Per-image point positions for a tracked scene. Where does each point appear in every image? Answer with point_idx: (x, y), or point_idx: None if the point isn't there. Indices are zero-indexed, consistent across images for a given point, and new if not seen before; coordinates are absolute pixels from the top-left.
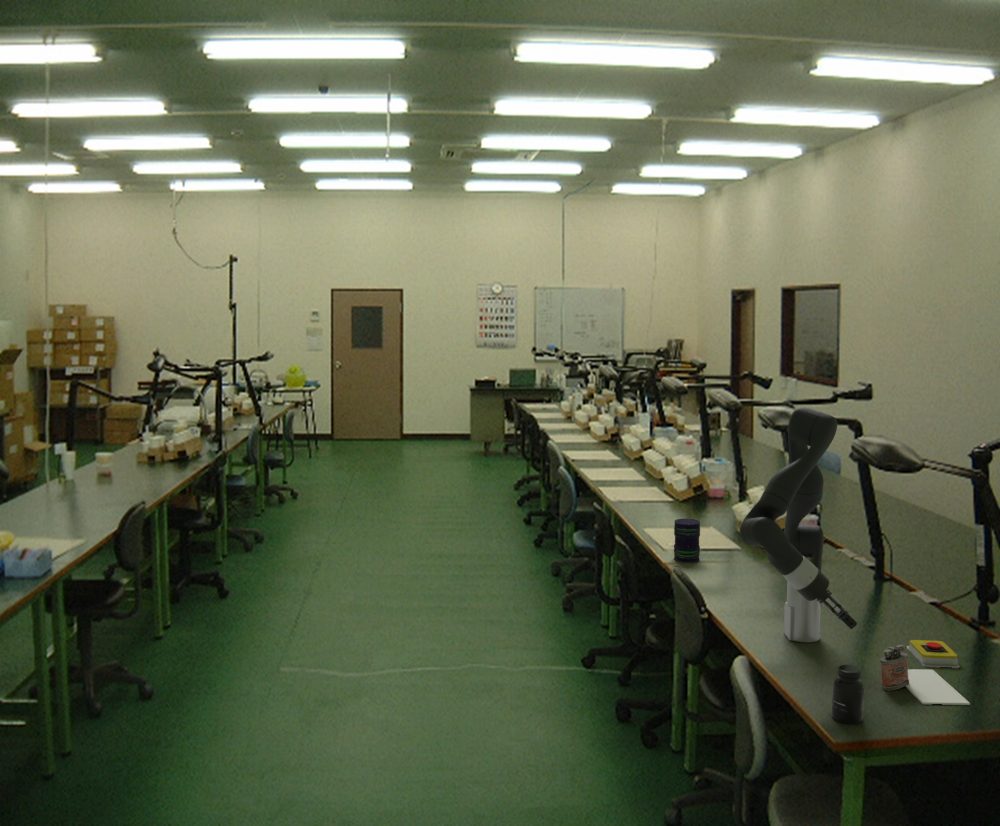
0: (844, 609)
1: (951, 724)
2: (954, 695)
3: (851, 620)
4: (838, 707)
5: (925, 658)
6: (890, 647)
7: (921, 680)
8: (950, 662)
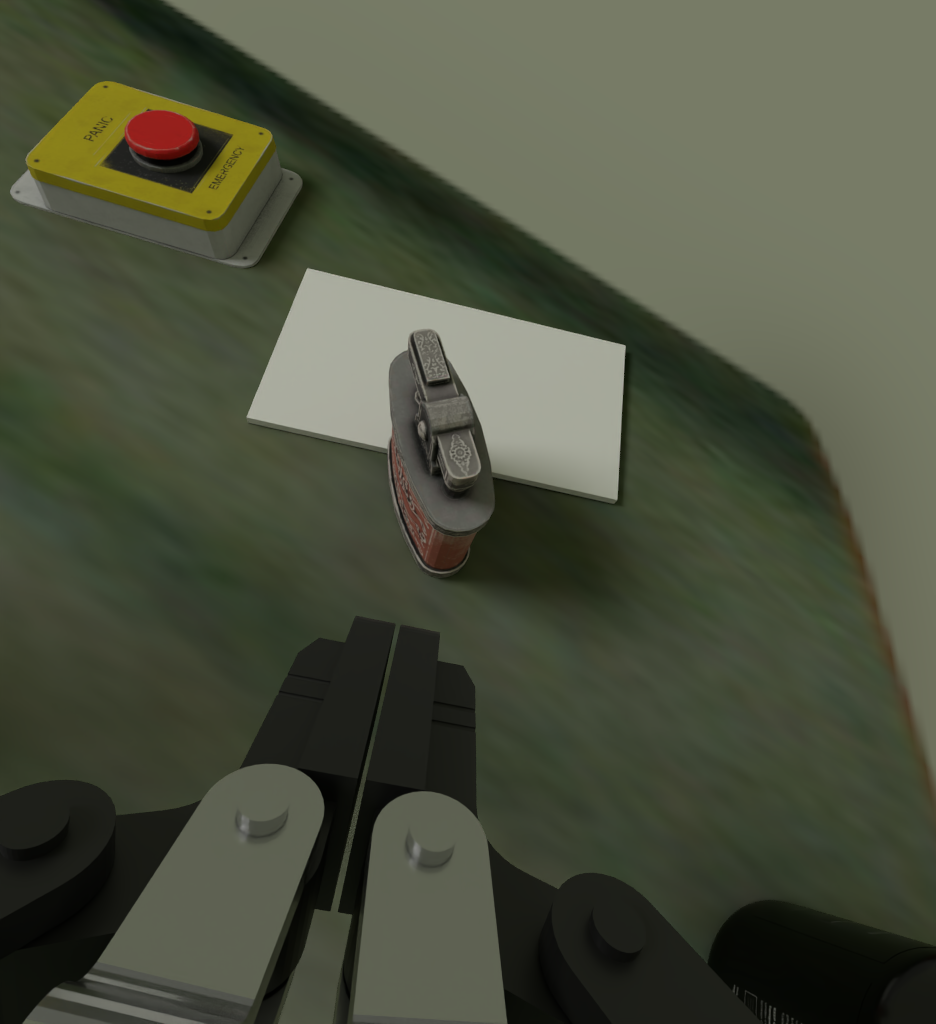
0: (289, 801)
1: (785, 510)
2: (559, 350)
3: (472, 736)
4: None
5: (226, 231)
6: (443, 419)
7: None
8: (272, 178)
